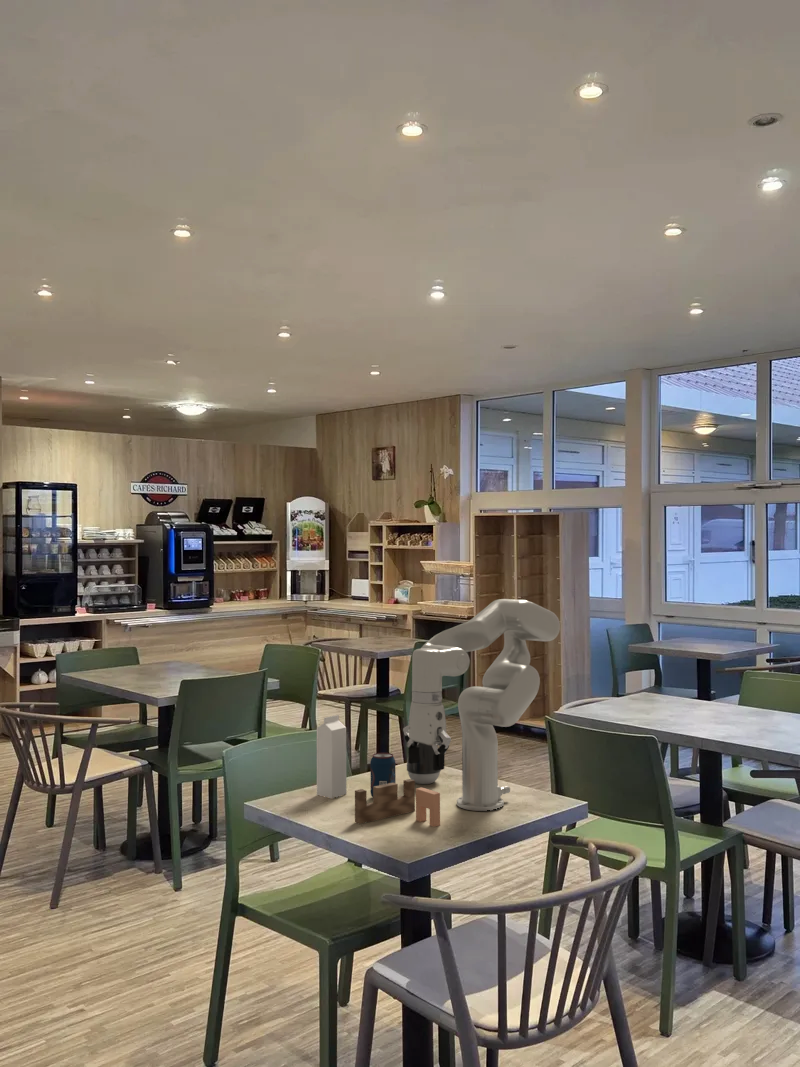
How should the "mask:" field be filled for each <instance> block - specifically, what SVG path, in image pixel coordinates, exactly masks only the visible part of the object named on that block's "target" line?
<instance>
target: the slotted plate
mask: <svg viewBox="0 0 800 1067" xmlns="http://www.w3.org/2000/svg"><path fill="white" fill-rule="evenodd" d="M427 809H428V810H429V826H431V827H434V828H435V827H439V826H441V793H440V792H438V791H434V790H431V789H428V788H425V787H422V786H421V787H418V788H415V821H417V822H419V823H421V822H425V821H427Z"/></svg>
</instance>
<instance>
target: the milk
mask: <svg viewBox="0 0 800 1067" xmlns="http://www.w3.org/2000/svg"><path fill="white" fill-rule="evenodd" d="M344 794H346V795H347V727H346V726H345V725H344V724H343V722H341V721H340V715H339V714H335V715H331V716H326V717H323V723H322V724H321V725H319V726H318V727H316V795H317V796H318V795H320V797H322V796H325V797H324V798H326V797H329V798H328V799H331V798H333V799H335V798H334V797H336V798H339V797H342V796H341V795H343V796H345V795H344ZM338 796H339V797H338Z"/></svg>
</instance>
